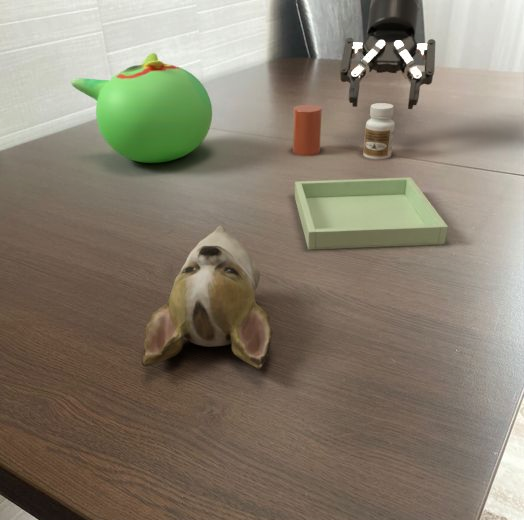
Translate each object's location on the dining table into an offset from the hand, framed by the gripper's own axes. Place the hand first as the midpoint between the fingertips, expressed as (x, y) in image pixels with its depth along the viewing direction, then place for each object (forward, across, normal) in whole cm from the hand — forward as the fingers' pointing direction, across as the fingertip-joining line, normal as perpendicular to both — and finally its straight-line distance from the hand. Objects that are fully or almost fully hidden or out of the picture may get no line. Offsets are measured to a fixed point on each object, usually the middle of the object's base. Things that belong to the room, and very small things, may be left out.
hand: (382, 105), depth 86 cm
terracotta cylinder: (+7, -11, +4) cm, 14 cm away
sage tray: (+24, 0, -14) cm, 28 cm away
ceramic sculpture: (+44, -12, -33) cm, 56 cm away
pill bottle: (+7, 0, +4) cm, 8 cm away
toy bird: (+11, -34, -1) cm, 36 cm away
